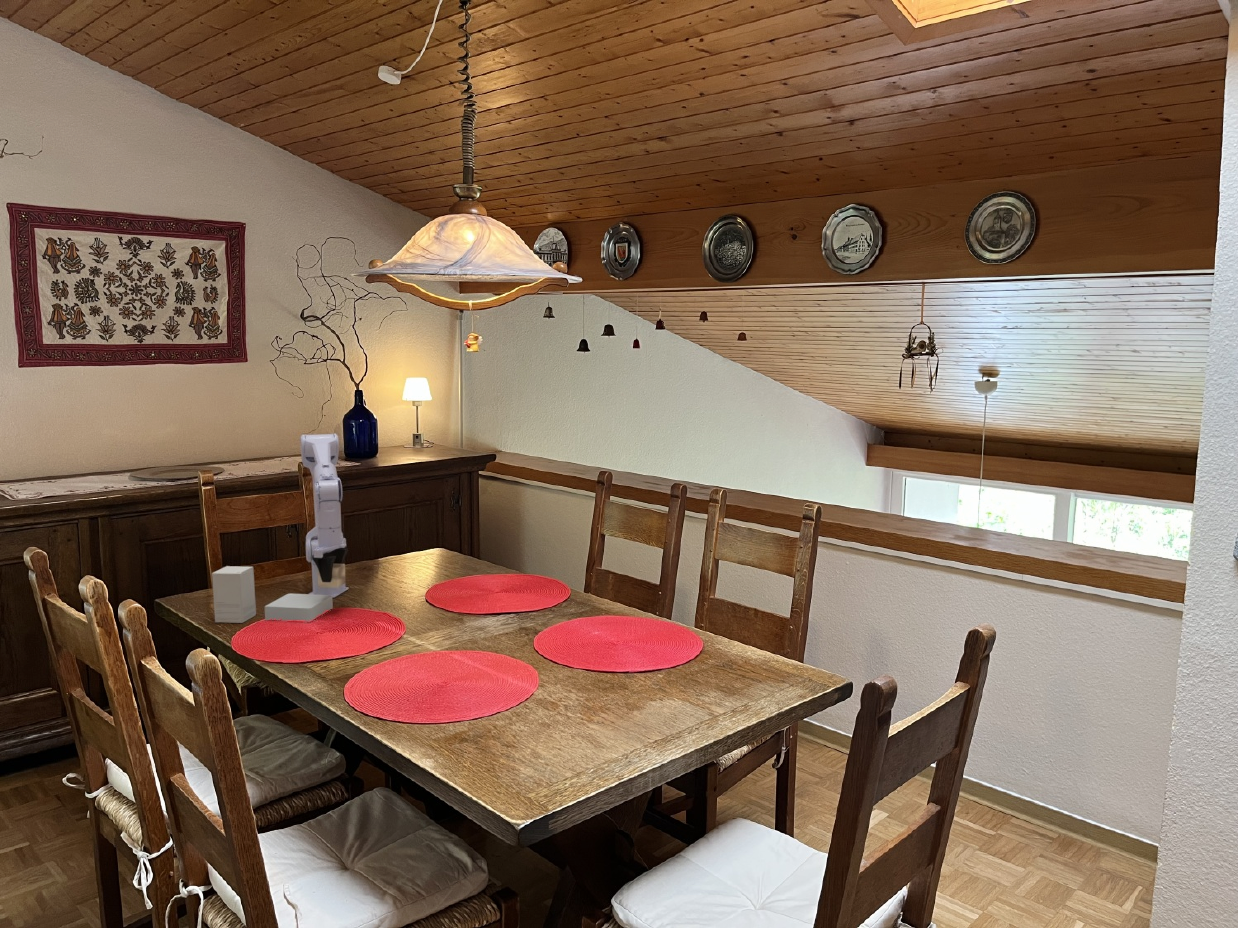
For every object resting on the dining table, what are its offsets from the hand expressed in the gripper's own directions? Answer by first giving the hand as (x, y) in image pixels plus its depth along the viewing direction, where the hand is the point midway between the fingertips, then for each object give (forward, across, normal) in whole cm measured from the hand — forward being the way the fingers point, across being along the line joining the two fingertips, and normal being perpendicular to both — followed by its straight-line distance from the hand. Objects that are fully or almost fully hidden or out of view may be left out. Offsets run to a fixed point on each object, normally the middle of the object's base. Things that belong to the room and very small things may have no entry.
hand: (331, 579), depth 234 cm
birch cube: (+2, 0, 0) cm, 2 cm away
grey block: (+9, -4, +7) cm, 12 cm away
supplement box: (+9, -10, +21) cm, 25 cm away
